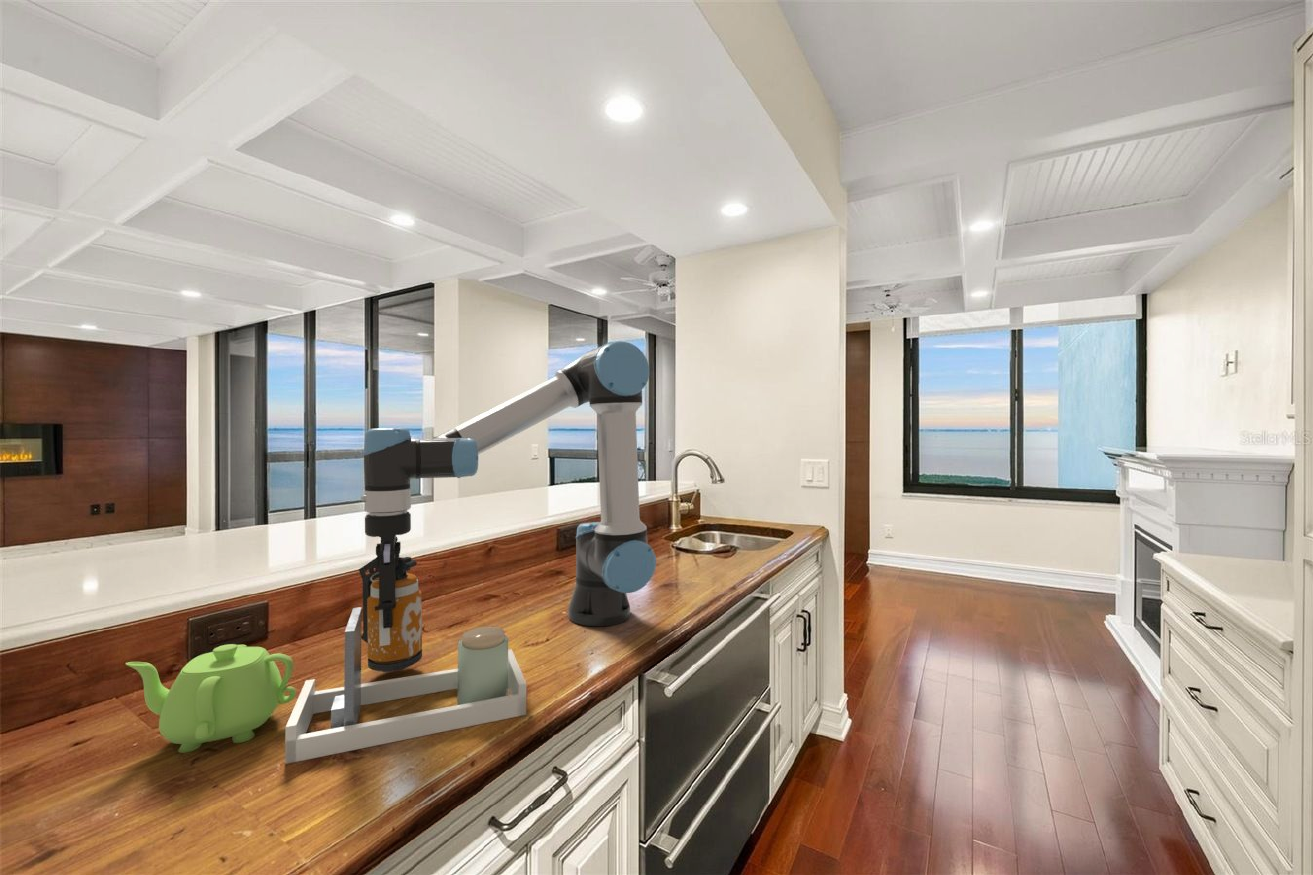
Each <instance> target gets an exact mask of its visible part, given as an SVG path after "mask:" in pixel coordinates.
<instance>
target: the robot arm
mask: <svg viewBox="0 0 1313 875" xmlns="http://www.w3.org/2000/svg"><path fill="white" fill-rule="evenodd" d="M649 378H650V365H649V361H648V359H647V357H646V354H644V352H643V351H642V350H641V349H640V348H638V346H636V345H635V344H632V343H630V342H627V341H623V340H622V341H621V340H620V341H615V342H614V341H612V342H607V343H605V344H603V345H601V346H599V347H596V348H593V349H591V350H589V351H587V352H586V353H584V354H583V355H581V356H580V357H578V358H577V359H575V360H574V361H572V362H571V363H569V364H568V365H566V366H565V367H562V368H561V369H559V370H557V371H556V372H555V374H554V377H552V378H551V379H549V380H547V381H544V382H543V383H541V384H539V385H536V386H535V387H533V388H531V389H528V390H527V391H525V392H523V393H521V394H519V395H517V396H515V397H513V398H511V399H509V400H507V401H505V402H503V403H501V404H499V405H497V406H495V407H493V408H491V409H490V410H487V411H486V412H483V413H481V414H479V415H477V416H475V417H473V418H471V419H469V420H467V421H465V422H464V423H461V424H459V425H457V426H455V427H454V428H452V429H449V430H448V431H446V432H443V433H442V434H440V435H438V436H434V437H432V438H412V436H411V432H410V430H409V429H408V428H370V429H368V430H367V431H365V433H364V443H363V444H364V446H363V474H364V478H363V479H364V480H363V482H364V494H363V495H361V497H360V500H361V501H363V502H364V501H366V502H365V503H364V511H365V512H366V513H367V514H366V515H365V516H364V534H365V535H366V536H368V537H372V538H376V537H377V538H378V537H379V538H380V542H377V543H376V546H375V555H376V557H377V569H378V570H379V604H378V606H376V607H375V611H376V610H379V641H380V646H385V645H390V627H392V626H393V619H392V608H395V606H396V602H395V582H396V569H398V567H399V557H400V554H401V545H402V544H401V543H402V542H401V541H399V538H398V536H403V535H406V534H407V533H410V531H412V530H411V529H412V516H411V515H412V514H411V513H410V511H409V510H410V509H411V508H412V490H411V489H412V487H411V480H413V479H415V480H416V479H418V480H419V479H439V478H440V479H443V478H447V479H448V478H457V479H460V478H465V477H466V478H467V477H472V476H473V477H474V476H475V475H476V474H477V472H478V468H479V455H480V454H481V453H484V452H486V451H488V450H490V449H492V448H494V447H495V446H497V445H500V443H501V444H502V443H503V442H505V441H507V440H508V439H511V438H512V437H515V436H516V435H518V434H520V433H522V432H524V431H526V430H527V429H529V428H532V427H533V426H535V425H538V424H539V423H541V422H542V421H544V420H546V419H549V418H550V417H552V416H554V415H556V414H558V413H560V412H561V411H564V410H565V409H568V408H575V409H576V408H578V407H580V406H582V405H584V404H586V403H589V407H590V408H591V409H592V410H593V411H594V412H595V413H596V424H597V426H596V428H597V429H596V430H597V452H598V469H599V470H598V476H599V477H598V478H599V480H598V481H599V500H600V521H596V522H595V521H593V522H584V523H580V524H579V525H578V526H577V529H576V535H575V539H576V540H575V542H576V543H575V547H576V552H575V586H574V589H573V592H572V596H571V598H570V601H569V605H568V609H567V610H568V611H567V618H568V620H570V621H571V622H572V623H575V624H578V625H582V626H589V627H606V626H607V627H608V626H613V625H614V626H615V625H618V624H621V623H623V622H625V621H627V620H628V619H629V618H630V617H631V604H630V602H629V598H628V595H627V594H632V593H636V592H638V591H641V590H642V589H643V588H644V587H645V586H647V584H648V583H649V582H650V581H651V580H652V578H653V577H654V575H655V572H656V568H657V557H656V553H655V551H654V549H653V548H652V547H651V546H650V544H648V528H647V525H646V523H644V522H643V521H641V518H640V495H639V494H640V491H639V469H638V468H639V467H638V466H639V465H638V462H639V461H638V437H637V433H638V432H637V414H636V413H637V411H638V410H639V409H640V408H641V406H643V389H644V388H645V387H646V385H647V384H648V382H649ZM389 600H390V601H389ZM383 601H385V602H383Z"/></svg>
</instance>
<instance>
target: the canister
mask: <svg viewBox="0 0 1313 875" xmlns="http://www.w3.org/2000/svg"><path fill="white" fill-rule="evenodd" d="M417 564H418V562H417V561H416V560H412V557H411V556H405V557H401V556H399V567H398V569H396V582H395V602H396V606H395V608H392V619H393V626H392V627H390V645H385V646H380V641H379V610H376V611H375V607H376V606H378V604H379V570H378V569H377V556H376V557H375V558H374V559H372V560H371V561H369V562H367V563H366V564H364V565H363V566H362V567H360V568H358V571H359V575H360V578H361V581H362V587H361V588H362V596H361V598H362V631H363V633H361V640H362V641H364V642H365V643H366V644H367V667H368V668H369V669H370V670H372V671H376V672H384V673H391V672H397V671H401V670H404V669H407V668H409V667H411V666H413V665H415V664H417V663H418V662H420V660H421V659H423V658H422V657H423V649H422V648H423V623H422V622H423V619H422V618H423V614H422V611H423V610H422V608H423V607H422V604H423V602H422V597H423V596H422V594H423V593H422V591H421V590H420V589H419V579H418V578H417V576H416V575H415V574H414V573H408V571H410V570H411V568H413V567H415V566H417ZM367 571H368V574H367V573H366V572H367ZM389 601H390V600H389ZM383 602H385V601H383Z"/></svg>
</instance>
